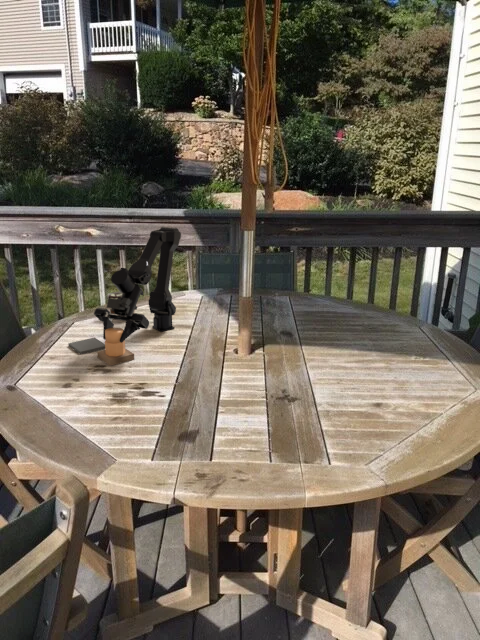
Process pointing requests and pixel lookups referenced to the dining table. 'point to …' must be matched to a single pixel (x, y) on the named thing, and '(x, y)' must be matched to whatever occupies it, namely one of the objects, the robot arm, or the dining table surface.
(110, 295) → the food container
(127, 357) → the post stand
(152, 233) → the robot arm
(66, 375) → the dining table surface
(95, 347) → the mat
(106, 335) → the orange rounded bulb shape
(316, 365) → the dining table surface
